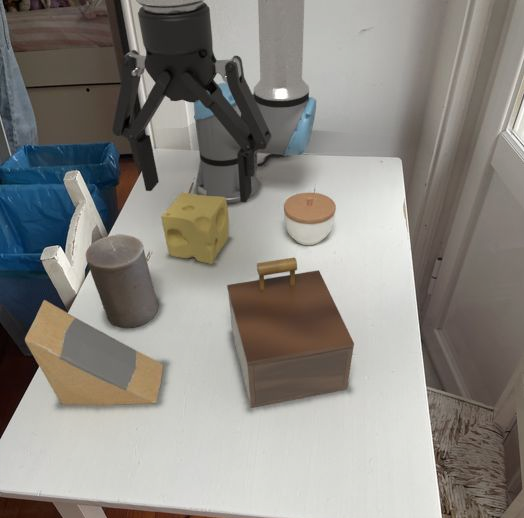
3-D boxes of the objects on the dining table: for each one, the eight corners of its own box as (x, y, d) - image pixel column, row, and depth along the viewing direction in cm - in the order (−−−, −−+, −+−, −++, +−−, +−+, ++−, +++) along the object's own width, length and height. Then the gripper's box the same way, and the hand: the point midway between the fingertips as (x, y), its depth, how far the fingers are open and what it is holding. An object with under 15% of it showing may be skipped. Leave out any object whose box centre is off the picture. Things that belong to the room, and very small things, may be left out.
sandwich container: (157, 404, 76) (135, 338, 65) (60, 406, 76) (23, 340, 65) (164, 363, 82) (146, 295, 71) (74, 365, 82) (42, 298, 71)
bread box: (232, 334, 86) (228, 291, 79) (317, 319, 88) (320, 276, 81) (250, 408, 75) (247, 366, 68) (347, 389, 77) (353, 347, 70)
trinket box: (330, 254, 101) (333, 214, 94) (279, 249, 103) (279, 209, 96) (335, 225, 108) (338, 186, 101) (288, 221, 110) (288, 183, 103)
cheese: (213, 265, 100) (207, 223, 92) (166, 256, 102) (157, 214, 95) (231, 237, 106) (227, 196, 99) (186, 230, 109) (180, 189, 102)
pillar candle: (105, 331, 87) (79, 264, 76) (108, 296, 94) (85, 230, 83) (159, 324, 88) (141, 257, 77) (158, 290, 95) (142, 224, 84)
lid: (227, 288, 79) (224, 259, 75) (318, 273, 81) (320, 244, 77) (247, 366, 68) (245, 337, 63) (353, 347, 70) (358, 317, 65)
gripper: (48, 9, 50) (102, 195, 66) (280, 17, 45) (280, 217, 61) (84, -8, 55) (127, 169, 71) (297, -2, 50) (293, 187, 66)
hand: (198, 191), depth 66 cm, fingers open, 13 cm apart
